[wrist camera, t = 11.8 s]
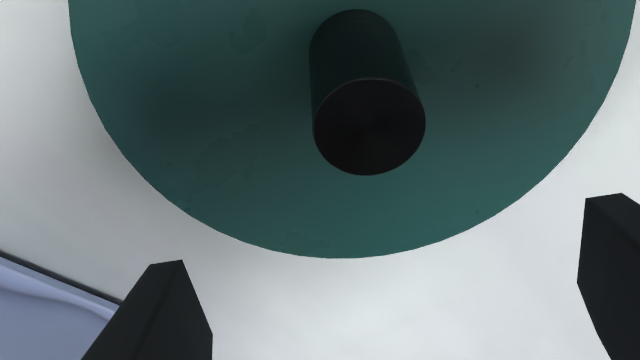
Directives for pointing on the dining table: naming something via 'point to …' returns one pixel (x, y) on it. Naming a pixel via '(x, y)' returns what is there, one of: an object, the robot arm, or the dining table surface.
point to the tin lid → (347, 109)
